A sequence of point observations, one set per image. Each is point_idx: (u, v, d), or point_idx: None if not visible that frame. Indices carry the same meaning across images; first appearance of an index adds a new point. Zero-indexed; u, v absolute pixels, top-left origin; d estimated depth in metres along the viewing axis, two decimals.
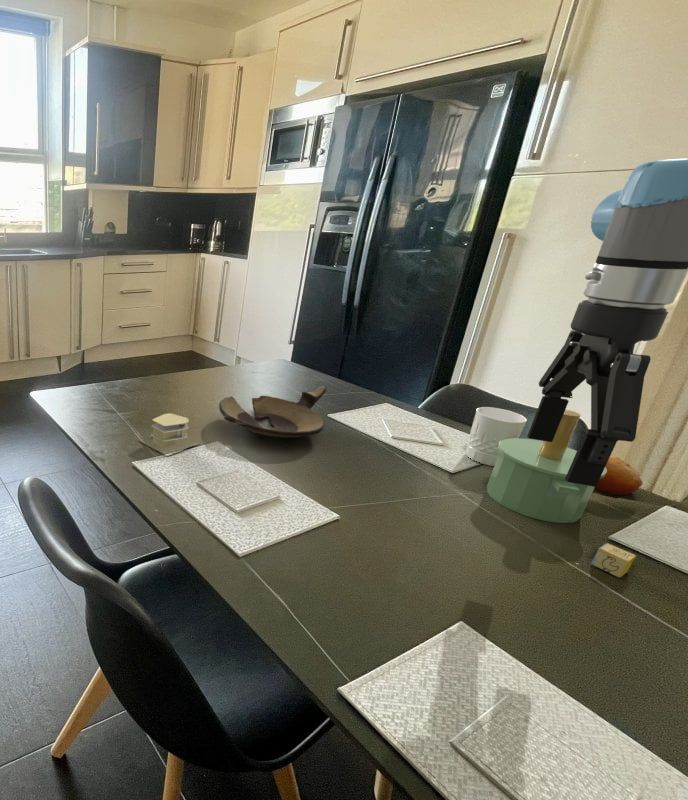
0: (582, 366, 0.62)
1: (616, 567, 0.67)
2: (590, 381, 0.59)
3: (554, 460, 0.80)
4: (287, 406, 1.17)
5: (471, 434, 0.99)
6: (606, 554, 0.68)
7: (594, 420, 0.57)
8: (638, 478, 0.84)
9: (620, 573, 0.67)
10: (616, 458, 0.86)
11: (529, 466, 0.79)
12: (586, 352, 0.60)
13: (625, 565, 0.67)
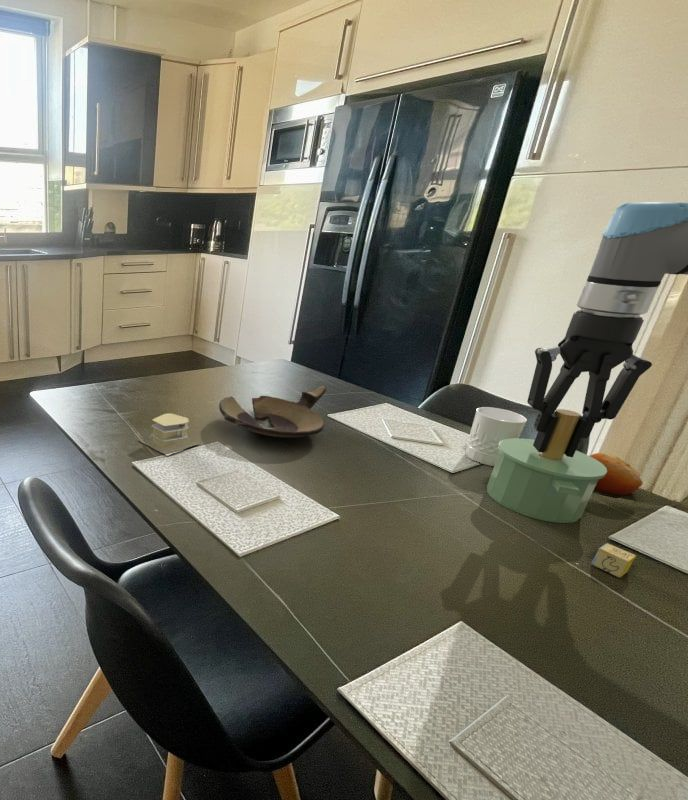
0: (585, 366, 0.75)
1: (616, 567, 0.67)
2: (603, 379, 0.75)
3: (554, 460, 0.80)
4: (287, 406, 1.17)
5: (471, 434, 0.99)
6: (606, 554, 0.68)
7: (596, 409, 0.76)
8: (638, 478, 0.84)
9: (620, 573, 0.67)
10: (616, 458, 0.86)
11: (529, 466, 0.79)
12: (609, 355, 0.73)
13: (625, 565, 0.67)
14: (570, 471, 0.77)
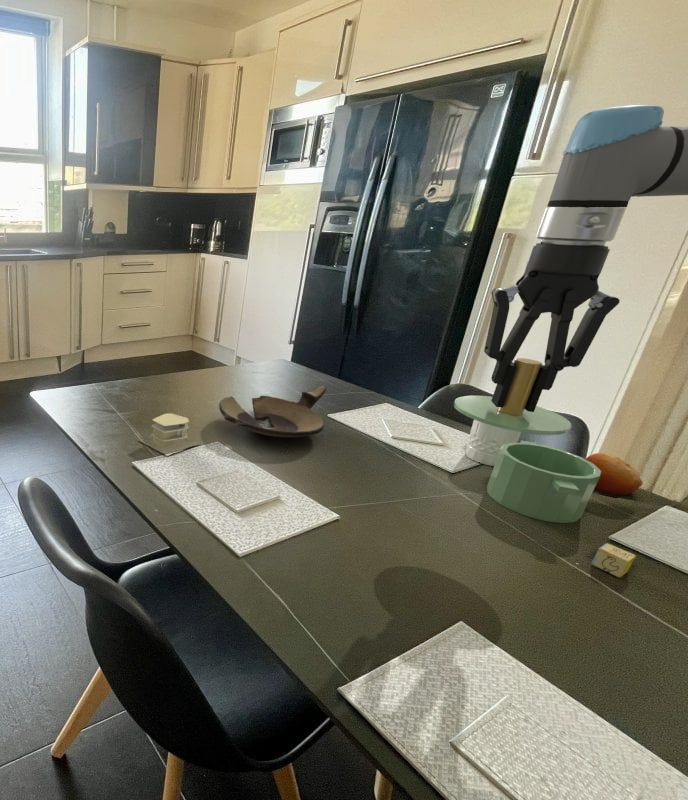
0: (546, 306, 0.66)
1: (616, 567, 0.67)
2: (565, 320, 0.66)
3: (514, 415, 0.72)
4: (287, 406, 1.17)
5: (471, 434, 0.99)
6: (606, 554, 0.68)
7: (558, 355, 0.68)
8: (638, 478, 0.84)
9: (620, 573, 0.67)
10: (616, 458, 0.86)
11: (484, 421, 0.70)
12: (572, 292, 0.64)
13: (625, 565, 0.67)
14: (529, 426, 0.68)
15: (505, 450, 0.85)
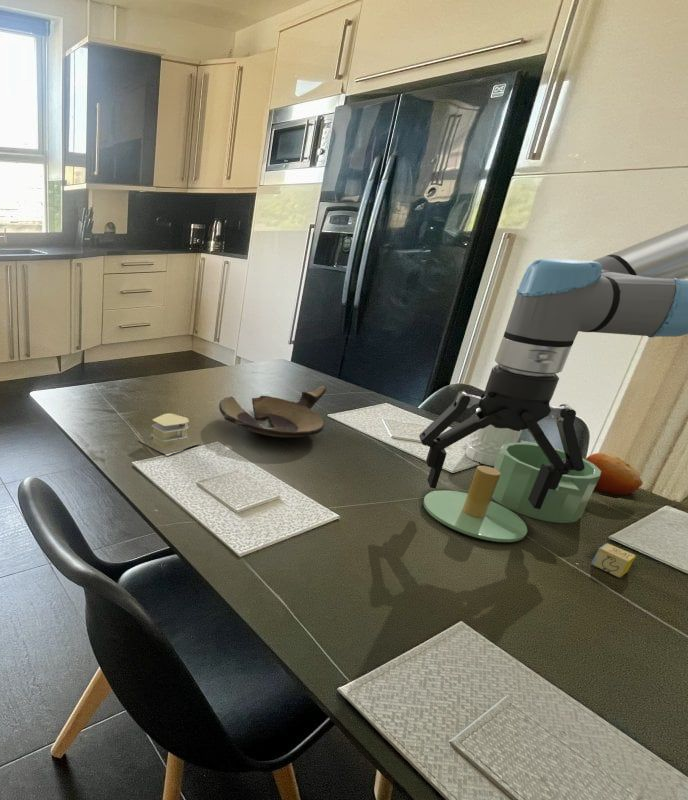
0: (504, 423, 0.73)
1: (616, 567, 0.67)
2: (538, 434, 0.71)
3: (476, 518, 0.78)
4: (287, 406, 1.17)
5: (471, 434, 0.99)
6: (606, 554, 0.68)
7: (557, 461, 0.72)
8: (638, 478, 0.84)
9: (620, 573, 0.67)
10: (616, 458, 0.86)
11: (449, 525, 0.77)
12: (525, 413, 0.71)
13: (625, 565, 0.67)
14: (489, 532, 0.75)
15: (505, 450, 0.85)
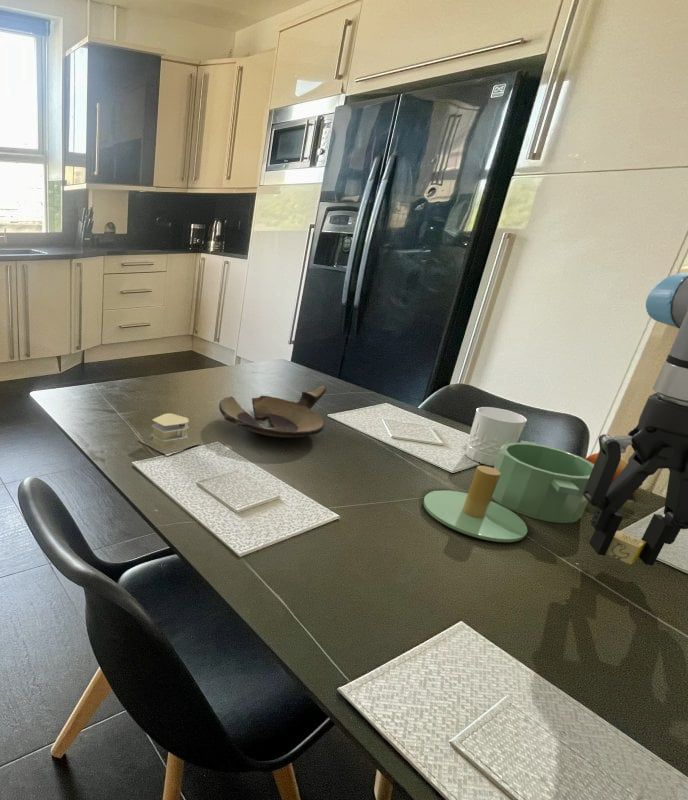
0: (664, 462, 0.62)
1: (626, 554, 0.67)
2: None
3: (476, 518, 0.78)
4: (287, 406, 1.17)
5: (471, 434, 0.99)
6: (616, 541, 0.67)
7: (683, 512, 0.63)
8: None
9: (630, 560, 0.66)
10: None
11: (449, 525, 0.77)
12: None
13: (635, 552, 0.66)
14: (489, 532, 0.75)
15: (505, 450, 0.85)
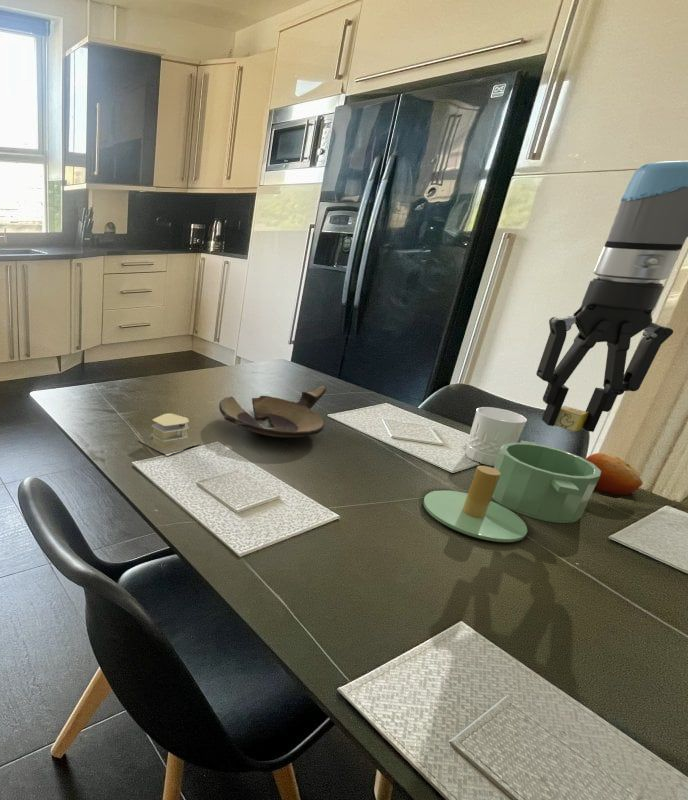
0: (602, 336, 0.73)
1: (572, 422, 0.77)
2: (623, 349, 0.72)
3: (476, 518, 0.78)
4: (287, 406, 1.17)
5: (471, 434, 0.99)
6: (563, 412, 0.78)
7: (618, 381, 0.74)
8: (638, 478, 0.84)
9: (575, 427, 0.77)
10: (616, 458, 0.86)
11: (449, 525, 0.77)
12: (628, 324, 0.70)
13: (579, 419, 0.76)
14: (489, 532, 0.75)
15: (505, 450, 0.85)
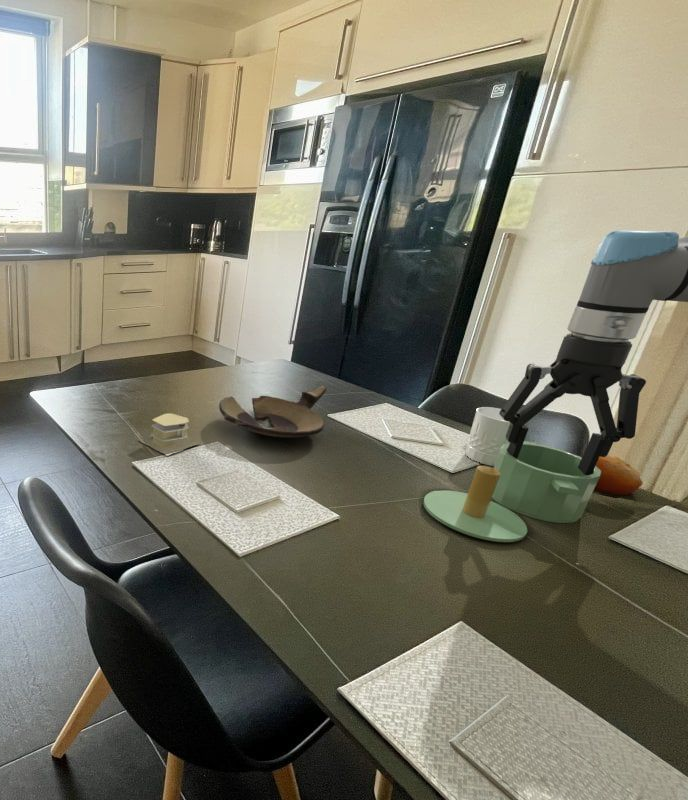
0: (576, 389, 0.77)
1: None
2: (603, 400, 0.75)
3: (476, 518, 0.78)
4: (287, 406, 1.17)
5: (471, 434, 0.99)
6: None
7: (611, 428, 0.76)
8: (638, 478, 0.84)
9: None
10: (616, 458, 0.86)
11: (449, 525, 0.77)
12: (598, 379, 0.75)
13: None
14: (489, 532, 0.75)
15: (505, 450, 0.85)
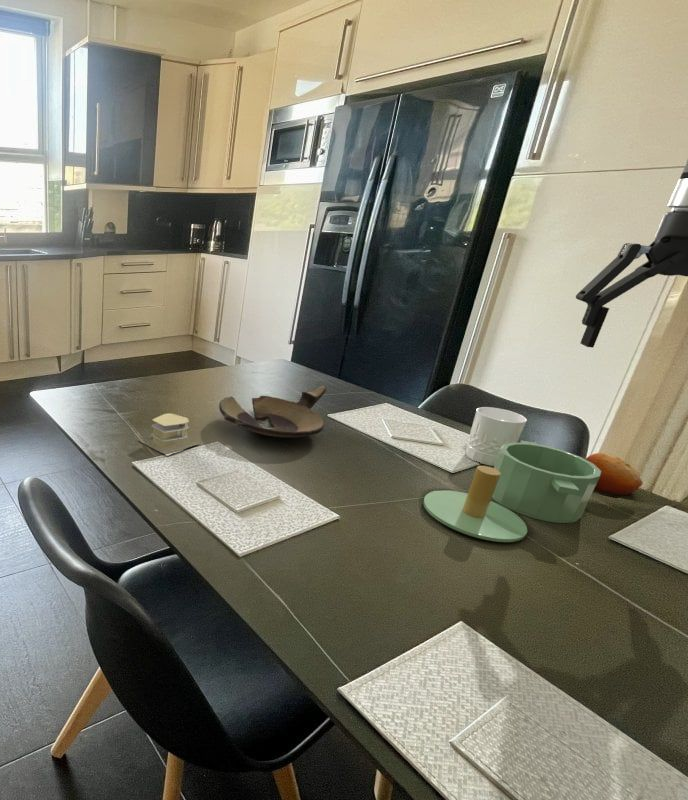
0: (676, 269, 0.73)
1: None
2: None
3: (476, 518, 0.78)
4: (287, 406, 1.17)
5: (471, 434, 0.99)
6: None
7: None
8: (638, 478, 0.84)
9: None
10: (616, 458, 0.86)
11: (449, 525, 0.77)
12: None
13: None
14: (489, 532, 0.75)
15: (505, 450, 0.85)
